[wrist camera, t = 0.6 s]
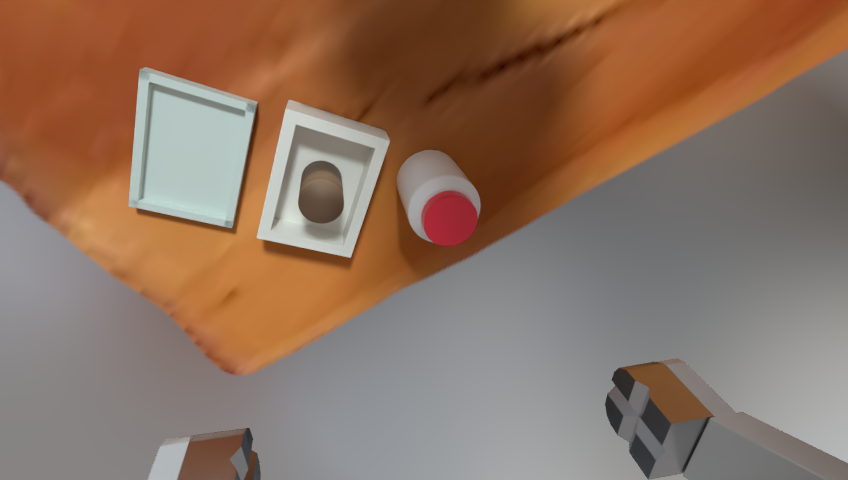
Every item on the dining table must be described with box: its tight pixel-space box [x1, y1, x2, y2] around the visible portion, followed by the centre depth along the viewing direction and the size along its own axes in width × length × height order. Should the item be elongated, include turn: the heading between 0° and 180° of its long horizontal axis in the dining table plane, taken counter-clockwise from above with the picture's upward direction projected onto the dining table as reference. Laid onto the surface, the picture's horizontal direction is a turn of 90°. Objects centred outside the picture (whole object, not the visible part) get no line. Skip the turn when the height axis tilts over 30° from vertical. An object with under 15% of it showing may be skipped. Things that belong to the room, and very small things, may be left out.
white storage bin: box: [257, 100, 390, 258], centre depth 47 cm, size 14×10×4 cm
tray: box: [129, 67, 258, 228], centre depth 44 cm, size 14×10×2 cm
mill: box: [298, 161, 344, 224], centre depth 45 cm, size 4×4×6 cm
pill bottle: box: [396, 150, 481, 246], centre depth 47 cm, size 8×8×11 cm
